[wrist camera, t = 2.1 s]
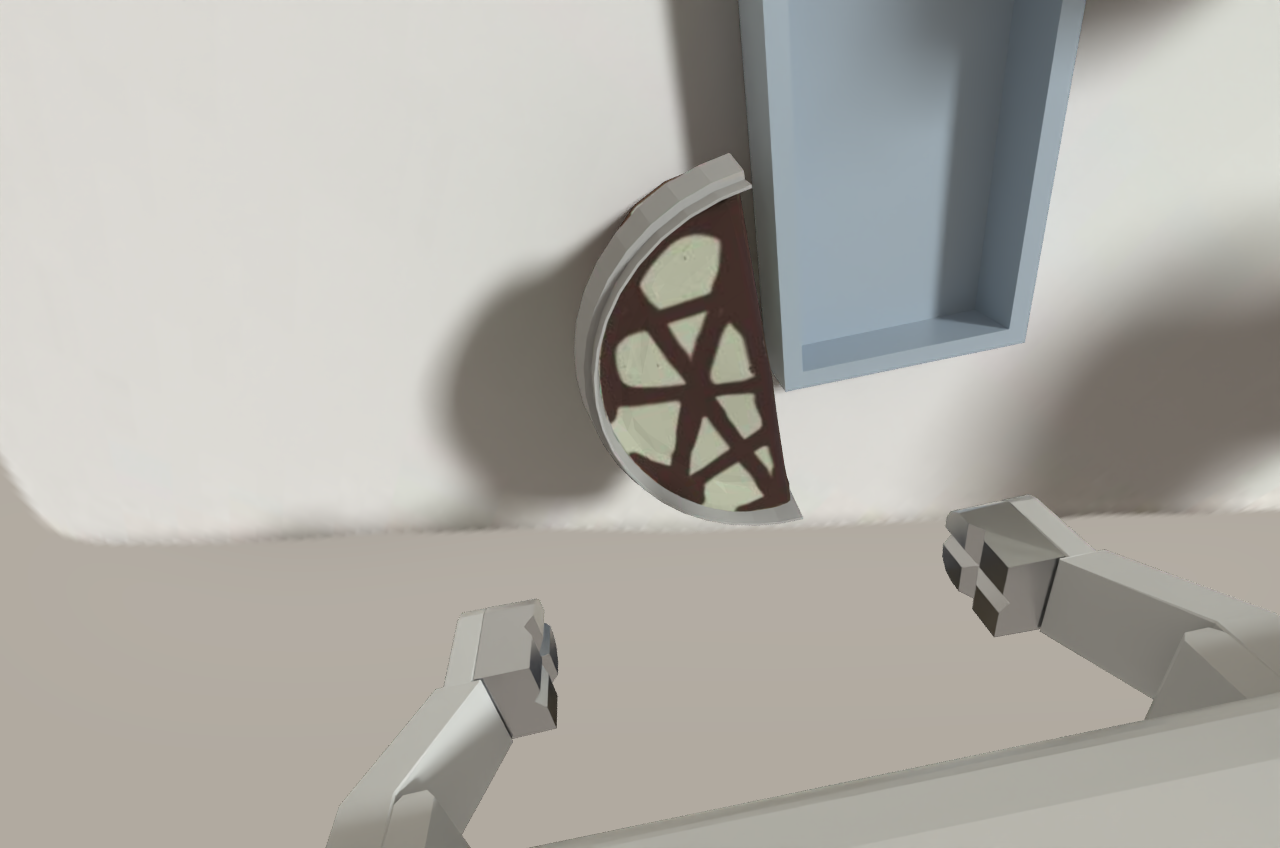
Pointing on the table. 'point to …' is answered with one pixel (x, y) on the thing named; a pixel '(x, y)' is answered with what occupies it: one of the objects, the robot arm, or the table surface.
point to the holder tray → (900, 174)
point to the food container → (685, 354)
